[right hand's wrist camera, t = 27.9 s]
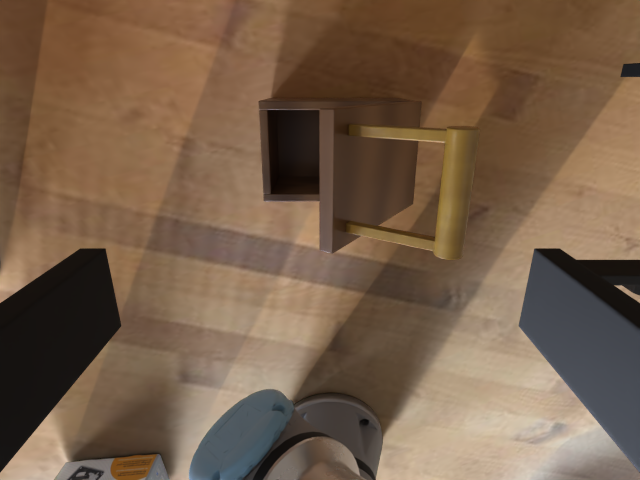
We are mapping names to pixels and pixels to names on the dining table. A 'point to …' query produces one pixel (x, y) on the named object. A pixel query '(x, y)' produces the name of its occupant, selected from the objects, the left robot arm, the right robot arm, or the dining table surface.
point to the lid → (390, 176)
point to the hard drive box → (116, 469)
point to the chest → (296, 144)
